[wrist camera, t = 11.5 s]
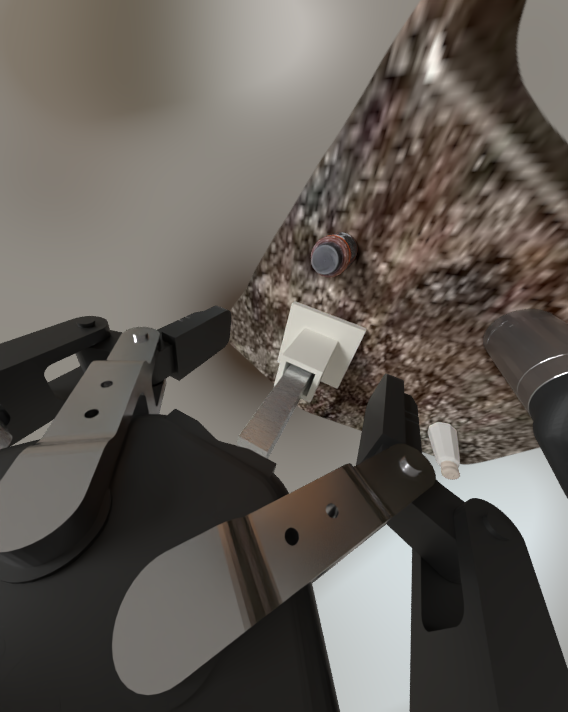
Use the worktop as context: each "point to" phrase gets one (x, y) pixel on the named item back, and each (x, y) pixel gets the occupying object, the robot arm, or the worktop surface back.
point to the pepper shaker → (445, 448)
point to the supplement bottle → (333, 254)
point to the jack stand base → (318, 346)
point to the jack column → (275, 412)
